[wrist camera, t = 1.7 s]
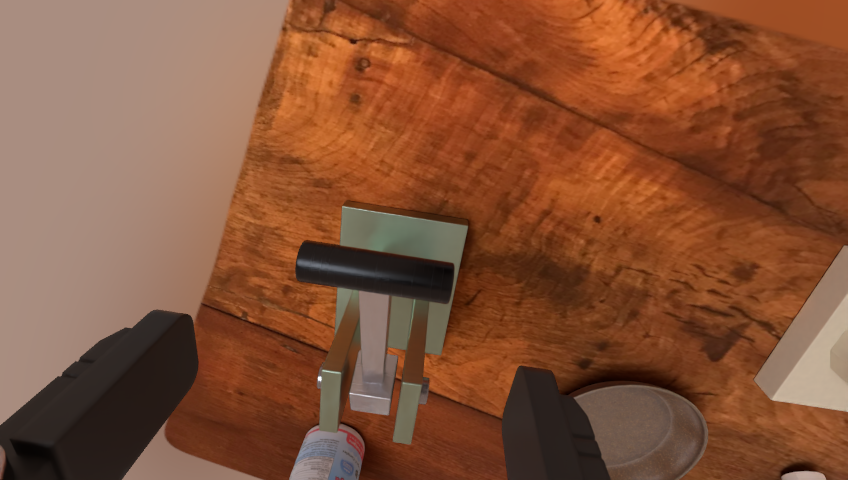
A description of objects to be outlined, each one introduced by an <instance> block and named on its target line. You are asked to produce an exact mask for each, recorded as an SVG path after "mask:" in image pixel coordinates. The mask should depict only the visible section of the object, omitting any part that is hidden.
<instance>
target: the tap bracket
mask: <svg viewBox="0 0 848 480" xmlns="http://www.w3.org/2000/svg"><path fill="white" fill-rule="evenodd" d="M467 230H468V220H467V219H461V218H455V217H448V216H442V215H435V214H429V213H423V212H416V211H410V210H403V209H397V208H391V207H384V206H378V205H371V204H365V203H359V202H352V201H345V203H344V204H343V206H342V217H341V234H340V245H342V246H348V247H355V248H361V249H368V250H374V251H381V252H387V253H393V254H400V255H406V256H413V257H419V258H426V259H432V260H438V261H445V262H451V263H454V266H455V272H454V282H453V288H452V294H451V298H450V301H449V303H448V304H441V303H435V302H428V301H422V300H415V299H409V298H402V297H396V296H392V302H391V314H390V326H389V338H388V347H390V348H396V349H403V350H406V354H405V360H404V367H403V374H402V381H401V388H400V394H399V401H398V408H397V415H396V421H395V428H394V435H393V442H397V443H404V444H411V441H412V436H413V430H414V425H415V420H416V415H417V410H418V404H424V405H425V404H426V403H427V398H428V392H429V378H426V377H423V369H424V358H425V353H429V354H435V355H441V354H442V349H443V344H444V339H445V335H446V330H447V325H448V320H449V316H450V311H451V306H452V301H453V297H454V292H455V287H456V282H457V278H458V273H459V268H460V263H461V258H462V254H463V249H464V244H465V239H466V235H467ZM359 350H361V338H360V313H359V291H357V290H351V289H344V288H338V287H337V303H336V320H335V337H334V340H333V343H332V345H331V348H330V350H329V353H328V355H327V358H326V360H325V362H323V363H322V364H321V367H320V370H319V373H318V378H317V388H319V389H321V398H320V421H319V430H320V431H325V432H332V433H337V432H338V429H339V425H340V422H341V418H342V415H343V411H344V408H345V405H346V401H347V398H348V394H349V389H350V385H351V381H352V376H353V372H354V368H355V363H356V359H357V354H358V351H359Z"/></svg>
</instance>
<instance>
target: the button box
mask: <svg viewBox="0 0 848 480" xmlns="http://www.w3.org/2000/svg"><path fill="white" fill-rule="evenodd" d="M754 381H755V382H756V383H757V385H758V386H759V387H760V388H761V389H762V390H763V391H764V392H765V394H766V395H767V396H768V397H769V398H770V399H771V400H775V401H781V402H788V403H794V404H801V405H807V406H814V407H820V408H827V409H833V410H840V411H846V412H848V246H843V248H842V249H841V251H840V252H839V254H838V255H837V257H836V258H835V260H834V261H833V263H832V264H831V266H830V267H829V268H828V270H827V271H826V273H825V274H824V276H823V277H822V279H821V280H820V282H819V283H818V285H817V286H816V288H815V289H814V291H813V292H812V294H811V295H810V297H809V298H808V300H807V301H806V303H805V304H804V306H803V307H802V309H801V310H800V312H799V313H798V314H797V316H796V317H795V319H794V320H793V322H792V323H791V325H790V326H789V328H788V329H787V331H786V332H785V334H784V335H783V337H782V338H781V340H780V341H779V343H778V344H777V346H776V347H775V349H774V350H773V352H772V353H771V355H770V356H769V358H768V359H767V360H766V362H765V363H764V365H763V366H762V368H761V369H760V371H759V372H758V374H757V375H756V377H755V378H754Z"/></svg>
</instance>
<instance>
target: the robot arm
mask: <svg viewBox="0 0 848 480" xmlns="http://www.w3.org/2000/svg"><path fill="white" fill-rule="evenodd" d="M197 371H198V355H197V348H196V340H195V333H194V325H193V320H192V317H191V316H190V315H188V314H183V313H175V312H169V311H163V310H153V311H151V312H150V313H149V314H147V315H146V316H145V317H144V318H143V319H142V320H141V321H140V322H138V323H137V324H136V325H135V326H134V327H133V328H124V329H122V330H120V331H118V332H116V333H114V334H113V335H110V336H108V337H106V338H104V339H102V340H100V341H99V342H98V343H97V344H95V345H94V346H93V347H92V348H91V349H90V350H88V351H87V352H86V353H85V354H84V355H83V356H81V357H80V360H79V361H78V362H74V363H73V364H72V365H71V366H70V367H68V368H67V369H66V370H65V371H64V372H63V374H62V376H61V377H59V376H58V377H57V378H55V380H53V381H52V382H51V383H50V384H48V385H47V386H46V387H45V388H44V389H43V390H41V391H40V392H39V393H38V394H37V395H36V396H34V397H33V398H32V399H31V400H30V401H28V402H27V403H26V404H25V405H24V406H23V407H21V408H20V409H19V410H18V411H17V412H16V413H14V414H13V415H12V416H11V417H10V418H9V419H7V420H6V421H5V422H4V423H3V424H1V425H0V480H122V479H123V477H124V476H125V475H126V473H127V472H128V471H129V469H130V468H131V467H132V465H133V464H134V462H135V461H136V460H137V459H138V457H139V456H140V455H141V453H142V452H143V451H144V449H145V448H146V447H147V445H148V444H149V442H150V441H151V440H152V439H153V437H154V436H155V435H156V433H157V432H158V431H159V429H160V428H161V427H162V425H163V424H164V423H165V421H166V420H167V419H168V417H169V416H170V415H171V413H172V412H173V411H174V409H175V408H176V407H177V405H178V404H179V403H180V401H181V400H182V399H183V397H184V396H185V395H186V393H187V392H188V391H189V389H190V388H191V386H192V385H193V383H194V380H195V378H196V375H197ZM502 437H503V445H504V453H505V461H506V468H507V476H508V480H611V478H610V476H609V473H608V470H607V468H606V465H605V462H604V460H603V459H602V454H601V451H600V448H599V446H598V443H597V441H595V435H594V432H593V429H592V426H591V424H590V421H589V418H588V415H587V414H586V413H585V412H584V410H583V409H582V408H581V407H580V405H579V404H578V403H577V401H576V400H575V399H574V398H573V396H568V395H562V394H560V393H559V390H558V386H557V383H556V380H555V377H554V374H553V372H552V371H551V370H546V369H540V368H533V367H526V366H519V367H518V369H517V371H516V374H515V377H514V380H513V384H512V387H511V390H510V393H509V396H508V399H507V402H506V406H505V409H504V413H503V420H502Z"/></svg>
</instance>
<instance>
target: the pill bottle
mask: <svg viewBox="0 0 848 480" xmlns="http://www.w3.org/2000/svg"><path fill="white" fill-rule="evenodd" d="M364 451H365V446H364V442H363V439H362V437H361V436H360V435H359V434H358V433H357V432H356V431H355V430H354V429H352V428H351V427H349V426H347V425H344V424H340V425H339V429H338V432H337V433H332V432H325V431H320V430H319V425H317V426H315V427H313V428H312V429H311V430H309V432H308V433H307V434H306V436H305V439H304V441H303V444H302V447H301V449H300V452H299V455H298V457H297V460H296V463H295V465H294V468H293V471H292V473H291V476H290V479H289V480H358V479H359V474H360V470H361V465H362V461H363V456H364Z"/></svg>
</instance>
